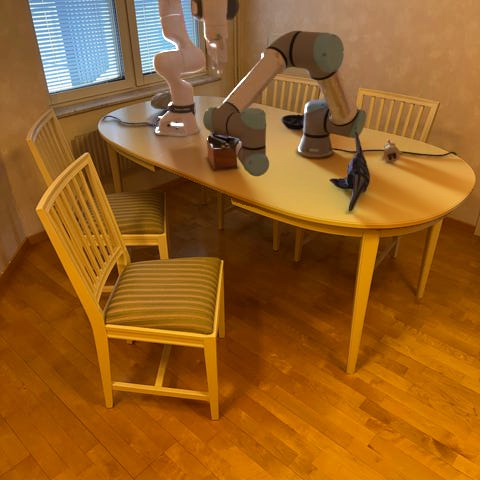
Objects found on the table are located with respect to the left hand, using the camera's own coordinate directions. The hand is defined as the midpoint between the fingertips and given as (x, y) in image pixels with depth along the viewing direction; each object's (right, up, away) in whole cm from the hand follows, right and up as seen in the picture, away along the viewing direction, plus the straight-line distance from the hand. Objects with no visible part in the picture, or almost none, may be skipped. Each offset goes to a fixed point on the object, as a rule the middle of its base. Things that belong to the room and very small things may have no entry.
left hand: (217, 71), depth 174 cm
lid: (+1, -20, +8) cm, 22 cm away
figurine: (+75, -30, +20) cm, 83 cm away
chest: (+1, -32, +19) cm, 37 cm away
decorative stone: (-36, +11, +88) cm, 96 cm away
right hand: (+5, -24, -7) cm, 26 cm away
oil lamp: (+39, -7, +58) cm, 70 cm away
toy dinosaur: (+49, -48, -7) cm, 69 cm away
